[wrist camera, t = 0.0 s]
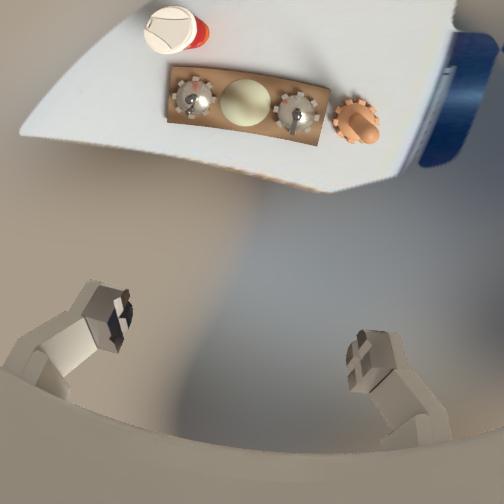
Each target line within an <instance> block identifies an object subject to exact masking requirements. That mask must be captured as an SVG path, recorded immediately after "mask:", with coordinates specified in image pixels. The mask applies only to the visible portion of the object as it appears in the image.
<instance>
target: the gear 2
mask: <svg viewBox="0 0 504 504" xmlns="http://www.w3.org/2000/svg"><path fill="white" fill-rule="evenodd" d="M281 98H282V99H283V100H282V102H281V103H280V105H279V106H278V105H274V110H273V112H277V113H278V117H279V119H278V120H277V121H276V124H277V125H278V126H279V127H281V126H283V125H284V126H285V127H286V128H288V129H289V134H290V135H295V133H296V131H300V130H305V132H306V133H308V132H309V131H311V128H310V125H311V124H312V123H313V121H319V117H320V115H319V114H315V109H314V107H315V106H316V105H318V104H317V103H316V101H315V100H314V99H312V100H310V101H309V100H308V99H307V98H305V97H304V92H301V91H297V95H291V96H288V94H287V93H285V94H283V95H281Z"/></svg>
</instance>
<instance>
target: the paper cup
mask: <svg viewBox="0 0 504 504" xmlns="http://www.w3.org/2000/svg"><path fill="white" fill-rule="evenodd" d="M144 37H145V40H146V43H147V44H148V46H149V47H150V48H151V49H152V50H154V51H155V52H158V53H161V54H173V53H176V52H179V51H181V50H186V49H192V48H197V47H200V46H202V45H203V44H204V43H205V42H206V41H207V40H208V38H209V28H208V26H207V25H206V24H205V23H204V22H202V21H201V20H200V19H198V18H196V17H195V16H193V14H192V13H191V12H190V11H189V10H187V9H186V8H183V7H181V6H167V7H164V8H161V9H159V10H158V11H156V12H155V13H154V14H152V15H151V17H150V18H149V20H148V21H147V23H146V26H145V29H144Z"/></svg>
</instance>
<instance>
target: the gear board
mask: <svg viewBox="0 0 504 504" xmlns="http://www.w3.org/2000/svg"><path fill="white" fill-rule="evenodd" d="M193 76H201V78H200V81H203V82H205V83H206V84H207V83H208V82H210V81H211V83H212V84H213V85H214V87H212V88H211V90H212V93H213V96H217V102H216V103H211V105H210V106H209V109H210V110H211V112H209V113H208V114H207V115H205V116H204V114H203V113H200V114H197V115H196V118H195V119H191V118H189V115H186V113H185V112H183V111H182V112H180V113H178V112H177V110H176V108H177V107H178V104H177V101H176V99H172V93H174V92H176V93H177V91H178V89H179V88H180V86H179V85H178V83H179V82H180V81H181V80H183V79H184V80H185V81H186V82H189V81H192V79H193ZM297 91H301V92H304V97H305V98H307V99H308V100H309V101H310V100H312V99H314V100H315V101H316V103H317V104H318V105H316V106H315V107H314V109H315V114H319V115H320V117H319V121H313V123H312V124H311V125H310V128H311V131H309V132H308V133H306V132H305V130H300V131H296V133H295V135H290V134H289V129H288V128H286V127H285V126H284V125H283V126H281V127H279V126H278V125H277V124H276V121H277V120H278V119H279V117H278V113H277V112H273V110H274V105H278V106H279V105H280V103H281V102H282V100H283V99H282V98H281V95H283V94H285V93H287V94H288V96H291V95H297ZM330 92H331V90H330V89H327V88H323V87H319V86H315V85H311V84H306V83H302V82H297V81H293V80H288V79H282V78H277V77H272V76H266V75H260V74H253V73H246V72H239V71H230V70H221V69H211V68H199V67H182V66H173V67H172V69H171V79H170V90H169V102H168V116H167V123H177V124H187V125H196V126H205V127H213V128H220V129H227V130H234V131H241V132H247V133H253V134H259V135H264V136H270V137H275V138H280V139H285V140H290V141H295V142H300V143H304V144H309V145H313V146H317V144H318V141H319V137H320V133H321V129H322V125H323V121H324V117H325V113H326V108H327V104H328V100H329V96H330Z"/></svg>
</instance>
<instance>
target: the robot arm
mask: <svg viewBox="0 0 504 504" xmlns="http://www.w3.org/2000/svg"><path fill="white" fill-rule="evenodd" d="M129 297H130V293H129V290H128V289H125V288H122V287H117V286H114V285H111V284H107V283H104V282H100V281H96V280H92V279H90V280H89V281H87V283H86V284H85V286H84V287H83V289H82V290H81V292H80V293H79V295H78V297H77V298H76V300H75V302H74V303H73V305H72V306H71V308H70V310H69V311H68V312H67V311H64V312H62V313H61V314H59V315H57V316H55V317H54V318H52V319H50V320H49V321H47V322H45V323H44V324H42V325H40V326H39V327H37V328H35V329H34V330H32V331H30V332H29V333H27V334H25V335H24V336H22V337H20V338H19V339H17V341H16V343H15V344H14V346H13V348H12V350H11V352H10V353H9V355H8V357H7V359H6V361H5V363H4V364H3V366H2V367H0V504H504V426H503V427H500V428H497V429H494V430H491V431H487V432H484V433H480V434H476V435H473V436H469V437H465V438H461V439H457V440H452V435H451V430H450V424H449V419H448V414H447V410H446V409H445V408H444V407H443V406H442V405H441V403H440V402H439V401H438V400H437V398H436V397H435V396H434V395H433V394H432V392H431V391H430V390H429V389H428V388H427V387H426V385H425V384H424V383H423V382H422V380H421V379H420V378H419V377H418V376H417V375H416V374H415V372H414V371H413V370H409V367H408V363H407V359H406V355H405V351H404V347H403V343H402V339H401V336H400V334H399V333H396V332H385V331H375V330H365V329H362V330H360V331H359V332H358V334H357V340H355V341H353V342H352V343H351V344H350V346H349V347H348V350H347V354H346V366H347V368H348V369H349V370H350V371H351V372H350V374H349V375H348V386H349V392H351V393H370V394H369V395H370V397H371V399H372V400H373V402H374V403H375V405H376V407H377V408H378V410H379V411H380V413H381V415H382V416H383V418H384V420H385V421H386V423H387V424H388V426H389V428H390V429H391V431H392V432H391V433H389V434H387V435H386V436H384V437H383V438H382V439H381V452H370V453H352V454H296V453H279V452H278V453H277V452H267V451H256V450H247V449H239V448H232V447H225V446H219V445H213V444H207V443H202V442H197V441H192V440H187V439H183V438H178V437H174V436H170V435H165V434H162V433H158V432H154V431H151V430H147V429H144V428H140V427H137V426H133V425H130V424H127V423H124V422H121V421H118V420H115V419H112V418H109V417H106V416H103V415H101V414H98V413H95V412H93V411H90V410H87V409H85V408H82V407H80V406H77V405H75V404H73V403H70V402H68V398H69V396H70V393H71V388H70V386H69V385H68V383H67V382H66V381H65V379H64V378H63V377H64V376H65V375H67V374H68V373H69V372H70V371H72V370H73V369H74V368H75V367H76V366H77V365H79V364H80V363H81V362H82V361H84V360H85V359H86V358H87V357H89V356H90V355H91V354H92V353H93V352H95V351H96V350H97V348H99V349H102V350H106V351H109V352H113V353H117V354H118V353H119V350H120V348H121V346H122V343H123V341H124V337H123V332H125V331H126V330H128V329H129V327H130V324H131V321H132V317H133V308H132V304H131V303H130V302H129V301H128V300H129Z"/></svg>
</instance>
